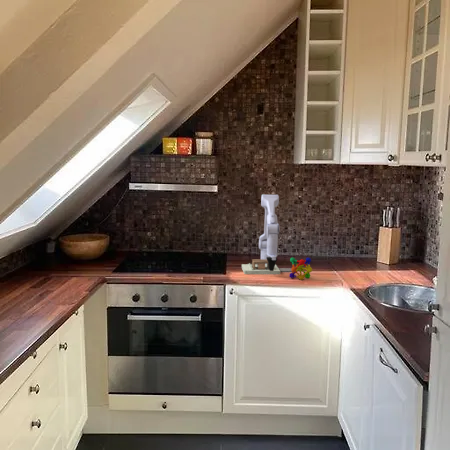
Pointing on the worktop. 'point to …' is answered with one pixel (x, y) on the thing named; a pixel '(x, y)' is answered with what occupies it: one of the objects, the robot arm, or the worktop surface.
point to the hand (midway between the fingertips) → (271, 270)
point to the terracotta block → (261, 266)
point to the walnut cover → (259, 262)
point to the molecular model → (300, 268)
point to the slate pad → (285, 269)
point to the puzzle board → (249, 269)
